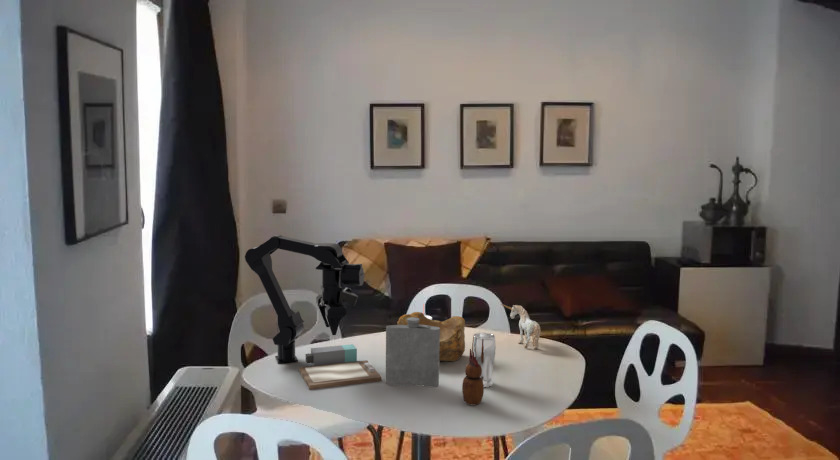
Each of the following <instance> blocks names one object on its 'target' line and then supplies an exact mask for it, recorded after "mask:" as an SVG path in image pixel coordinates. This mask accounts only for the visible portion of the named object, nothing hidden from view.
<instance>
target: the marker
mask: <svg viewBox="0 0 840 460" xmlns="http://www.w3.org/2000/svg"><path fill="white" fill-rule="evenodd" d="M357 353H358V348H357V347H356V346H355V345H354V344H353V343H352V344H342V345H341V344H339V345H333V346H322V347H320V346H319V347H312V348H311V347H310V353H305V363H306V364H311V366H318V365H327V364H337V363H346V362H356V361H358V358H357V357H358V354H357Z"/></svg>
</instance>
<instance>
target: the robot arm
mask: <svg viewBox="0 0 840 460" xmlns="http://www.w3.org/2000/svg"><path fill="white" fill-rule="evenodd" d="M278 250H283V251H287V252H291V253H296V254H300V255H306V256H309V257H313V258H314V259H315V260H317V261H319V262H320V263H319V264H318V265H317V266H316V267H315V270H320V271H321V272H322V273H321V280H322V281H321V284H320V289H321V294H318V295H317V296H316V297H315V303H316V304H317V305H316V306H317V308H318V310H319V313H320V315H321V317H322V318H321V319H322V320H323V322H324V325H325V328H329V329H330V332H331V335H332V336H336V335H337V333H338V328H339V324H340V322H341V320H342V319H343V318H346V316H348V309H347V307H346V306H344V303H346V304H350V305H351V306H354V307H355V306H356V303H357V301H358V299H359V295H357V294H356V293H354V292H352V289H351V288H350V287H346V285H347V286H361V287H362V286H363V285H364V282H365V271H364V268H363V263H350V262H349V261H348V259H347V257H346V256H345V255H344V254H343V249H342V247H341V245H339V244H338V243H331V242H323V243H317V242H311V241H307V240H302V239H297V238H292V237H289V236H288V237H287V236H285V235H282V234H277V235H273V236H271V237H270V238H269V239H268V240H266V241H265V242H263V243H262V244H259V245H258V246H255V247H254V246H253V247H252V248H250V249H248V250H247V251H246V252H245V255H244V260H245V262H246V264H247V265H248V267H249V268H250V270H251V271H253V272H254V274H256V275H257V276H258V277H259V280H260V282H261V284H262V287H263V288H264V291H265V292H266V294H267V297H268V299H269V301H270V303H271V305H272V307H273V310H274V311H275V314H276V316H277V319H276V320H277V328H278V333H277V334H276V335H275V336H273V338H272V342H273V344H274V345H275V346H277V347H276V348H277V350H276V351H277V355H275V360H276V362H277V364H284V363H285V364H286V363H294V362H295V363H296V362H298V361H299V359H298V357H297V356H296V340H298V338H299V336H300V335H301V333H303V331H304V328H305V325H304V322H305V320H303V318H302V316H301V313H300V311H296V312H295V311H294V310H293V309H292V308H291V307H290V304H289V303H288V300H287V299H286V296H285V293H284V292H283V290H282V288H281V286H280V284H279V282H278V279H277V277H276V275H275V273H274V271H273V270H274V269H273V260H272V257H271V255H273V254H274V253H275V252H276V251H278ZM341 283H343V285H345V288H344V289H343V287H342V286H341Z"/></svg>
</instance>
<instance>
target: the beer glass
mask: <svg viewBox="0 0 840 460" xmlns="http://www.w3.org/2000/svg"><path fill="white" fill-rule="evenodd" d="M496 348H497V347H496V335H495V334H494V333H491V332H476V333H473V335H472V346H471V351H472V354H473V352H474V357H476V360H477V361H478V364H480V365H481V368H482V374H481V376H480V378H481V379H482V381H483V385H484V387H486V388H490V387H489V386H491V387H492V386H493V384H494V381H493V367H494V363H495V358H496V351H497V350H496Z"/></svg>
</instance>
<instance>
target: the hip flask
mask: <svg viewBox="0 0 840 460" xmlns="http://www.w3.org/2000/svg"><path fill="white" fill-rule="evenodd" d="M407 322H408V325H398V324H392V325H391V324H389V325H386V326H385V385H388V386H417V385H424V386H423V387H429V386H437V387H438V385H439V383H440V361H439V346H440V328H439V327H434V326H428V325H419V323H418V322H419V318H414V317H412V318H408V319H407ZM439 386H440V385H439Z"/></svg>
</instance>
